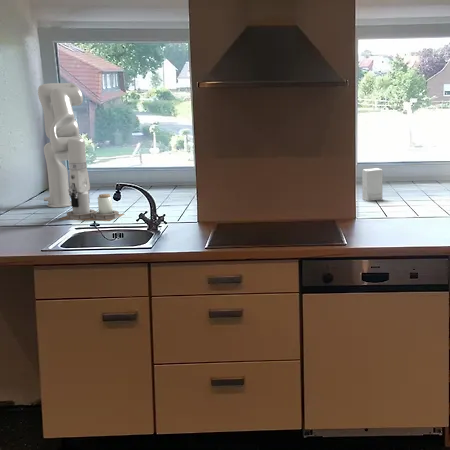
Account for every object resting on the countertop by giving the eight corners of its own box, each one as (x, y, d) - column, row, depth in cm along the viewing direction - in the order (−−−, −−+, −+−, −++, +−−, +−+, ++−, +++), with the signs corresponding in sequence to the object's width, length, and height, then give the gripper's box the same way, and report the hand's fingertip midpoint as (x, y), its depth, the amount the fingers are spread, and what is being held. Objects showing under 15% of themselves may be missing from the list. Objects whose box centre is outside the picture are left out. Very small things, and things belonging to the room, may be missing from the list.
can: (85, 217, 292) (83, 190, 289) (70, 217, 293) (68, 190, 291) (92, 214, 299) (91, 188, 297) (77, 214, 301) (75, 188, 298)
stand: (58, 221, 291) (57, 214, 291) (75, 215, 305) (74, 208, 305) (109, 223, 284) (109, 216, 283) (125, 216, 298) (124, 209, 297)
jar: (96, 218, 291) (95, 195, 288) (103, 215, 296) (101, 193, 294) (109, 218, 289) (107, 196, 287) (115, 216, 294) (113, 193, 292)
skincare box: (377, 197, 325) (377, 167, 322) (383, 200, 319) (383, 169, 316) (361, 199, 323) (361, 168, 320) (366, 201, 318) (367, 170, 314)
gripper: (75, 169, 282) (78, 209, 286) (94, 164, 298) (97, 201, 302) (59, 169, 284) (63, 208, 288) (80, 164, 300) (82, 201, 304)
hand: (80, 205), depth 295 cm, fingers open, 9 cm apart
